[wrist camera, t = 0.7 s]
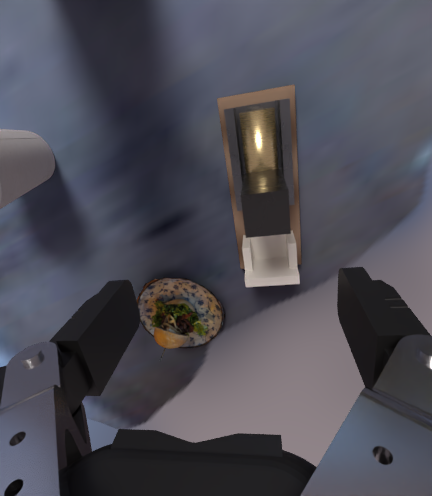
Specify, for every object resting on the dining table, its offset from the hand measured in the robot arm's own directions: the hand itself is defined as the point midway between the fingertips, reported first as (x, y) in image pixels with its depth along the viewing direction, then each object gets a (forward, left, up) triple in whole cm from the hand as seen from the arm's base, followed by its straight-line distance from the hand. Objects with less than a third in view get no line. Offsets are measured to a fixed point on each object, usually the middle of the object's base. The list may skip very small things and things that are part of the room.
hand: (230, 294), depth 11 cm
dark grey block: (-1, +2, -20) cm, 20 cm away
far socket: (+9, +2, -21) cm, 23 cm away
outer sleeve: (-2, +2, -21) cm, 21 cm away
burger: (+17, -11, -23) cm, 31 cm away
